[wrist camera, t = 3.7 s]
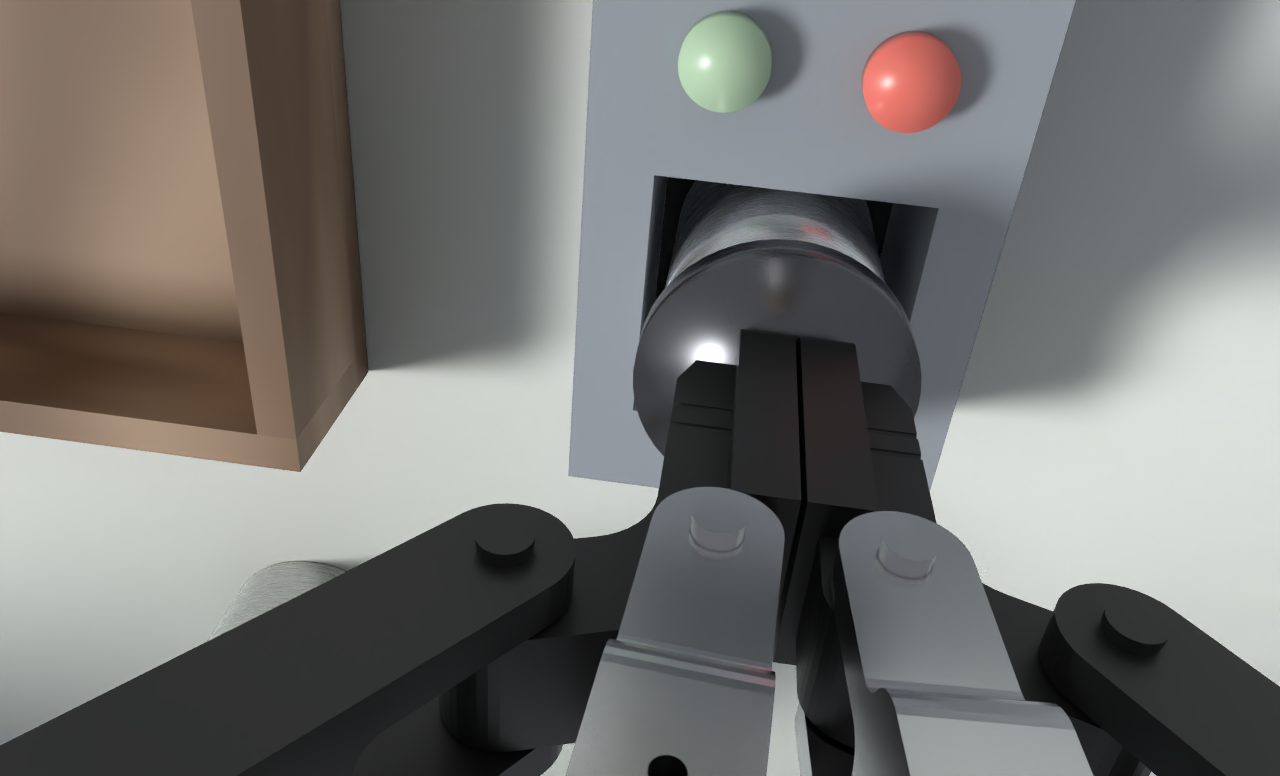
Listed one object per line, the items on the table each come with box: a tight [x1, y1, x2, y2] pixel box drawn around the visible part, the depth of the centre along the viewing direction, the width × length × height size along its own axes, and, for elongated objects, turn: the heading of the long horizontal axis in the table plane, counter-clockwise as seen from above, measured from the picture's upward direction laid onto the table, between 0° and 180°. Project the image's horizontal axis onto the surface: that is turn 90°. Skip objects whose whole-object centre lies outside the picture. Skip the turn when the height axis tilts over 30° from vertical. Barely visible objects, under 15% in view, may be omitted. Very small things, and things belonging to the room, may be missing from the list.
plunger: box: [633, 180, 922, 456], centre depth 15 cm, size 4×4×5 cm
